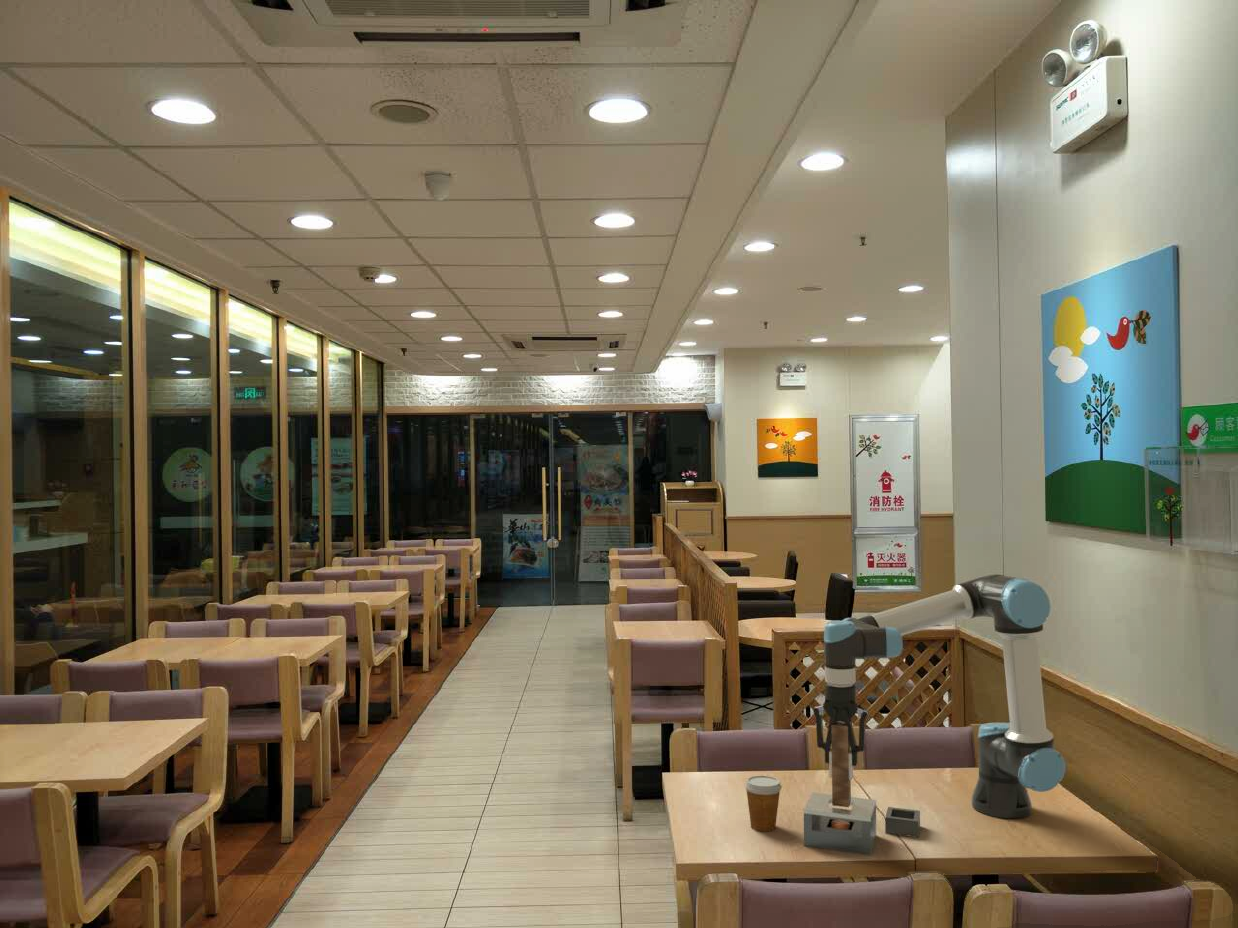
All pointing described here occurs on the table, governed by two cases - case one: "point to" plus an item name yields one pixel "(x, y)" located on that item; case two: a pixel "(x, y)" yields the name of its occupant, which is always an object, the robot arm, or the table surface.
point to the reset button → (840, 824)
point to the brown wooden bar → (840, 765)
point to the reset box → (840, 839)
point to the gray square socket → (902, 821)
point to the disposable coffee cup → (763, 801)
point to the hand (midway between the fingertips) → (841, 776)
